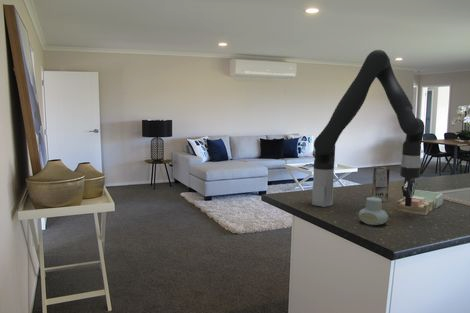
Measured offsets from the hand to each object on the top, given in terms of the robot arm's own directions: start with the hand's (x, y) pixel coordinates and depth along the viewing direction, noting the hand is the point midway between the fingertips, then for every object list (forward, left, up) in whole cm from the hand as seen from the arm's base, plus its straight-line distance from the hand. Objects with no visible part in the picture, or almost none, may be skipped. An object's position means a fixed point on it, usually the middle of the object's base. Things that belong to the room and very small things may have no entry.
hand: (408, 205), depth 161 cm
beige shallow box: (+12, 0, -4) cm, 12 cm away
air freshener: (-21, +7, -4) cm, 23 cm away
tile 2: (+15, 0, -1) cm, 15 cm away
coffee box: (+21, +19, -4) cm, 28 cm away
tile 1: (+8, 0, -1) cm, 8 cm away
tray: (+26, 0, -4) cm, 26 cm away
